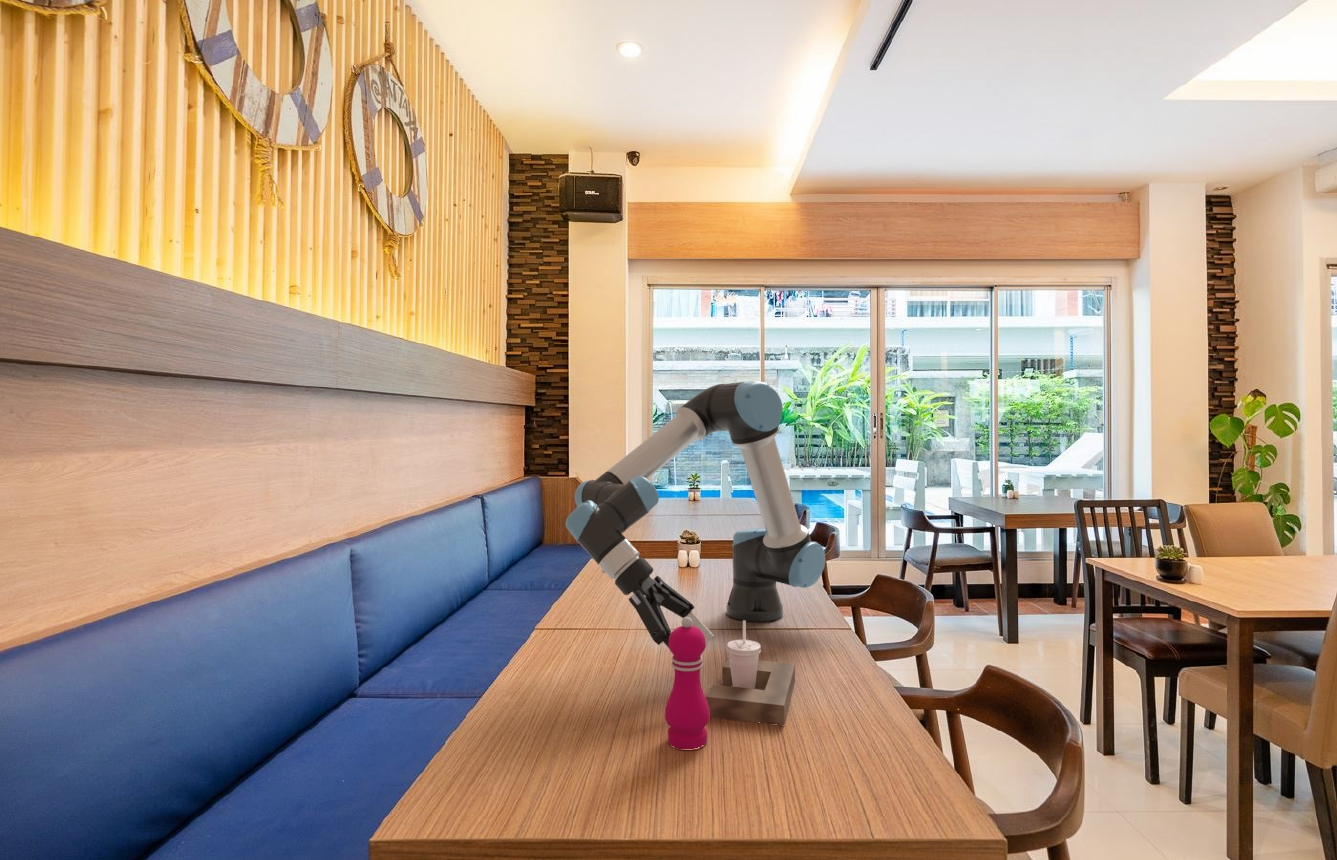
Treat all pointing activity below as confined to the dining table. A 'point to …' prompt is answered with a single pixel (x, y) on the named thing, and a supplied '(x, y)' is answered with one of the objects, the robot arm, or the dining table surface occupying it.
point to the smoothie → (743, 661)
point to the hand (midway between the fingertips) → (701, 652)
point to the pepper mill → (687, 689)
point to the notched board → (755, 695)
